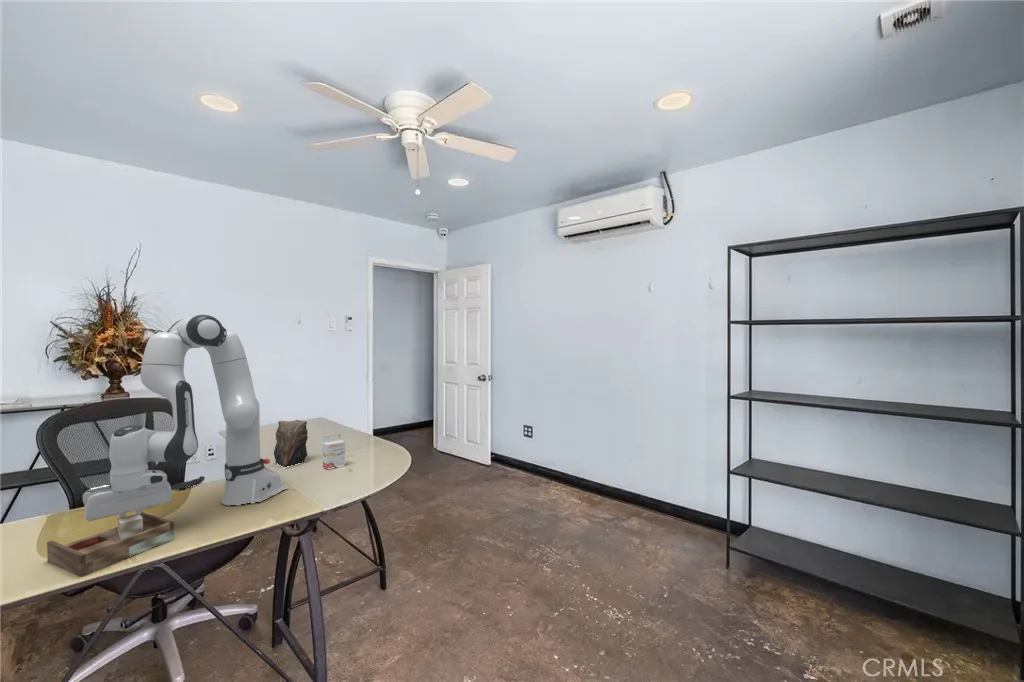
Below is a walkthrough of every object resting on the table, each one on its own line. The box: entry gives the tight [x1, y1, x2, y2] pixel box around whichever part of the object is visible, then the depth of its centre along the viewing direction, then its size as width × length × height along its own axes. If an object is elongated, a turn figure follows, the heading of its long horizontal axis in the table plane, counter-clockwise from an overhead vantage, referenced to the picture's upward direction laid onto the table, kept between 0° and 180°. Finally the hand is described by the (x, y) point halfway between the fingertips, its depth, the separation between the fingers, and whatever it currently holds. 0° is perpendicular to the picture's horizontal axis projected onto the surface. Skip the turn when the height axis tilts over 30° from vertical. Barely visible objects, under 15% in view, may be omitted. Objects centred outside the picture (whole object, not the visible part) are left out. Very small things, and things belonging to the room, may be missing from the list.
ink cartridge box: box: [322, 433, 346, 470], centre depth 205 cm, size 9×5×15 cm, turn 133°
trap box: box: [46, 511, 175, 578], centre depth 130 cm, size 22×18×6 cm
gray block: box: [117, 513, 143, 540], centre depth 133 cm, size 5×5×5 cm
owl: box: [273, 419, 309, 467], centre depth 210 cm, size 13×13×20 cm
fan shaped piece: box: [170, 476, 205, 491], centre depth 183 cm, size 8×14×2 cm, turn 164°
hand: (131, 525), depth 135 cm, fingers closed, pressing on gray block
